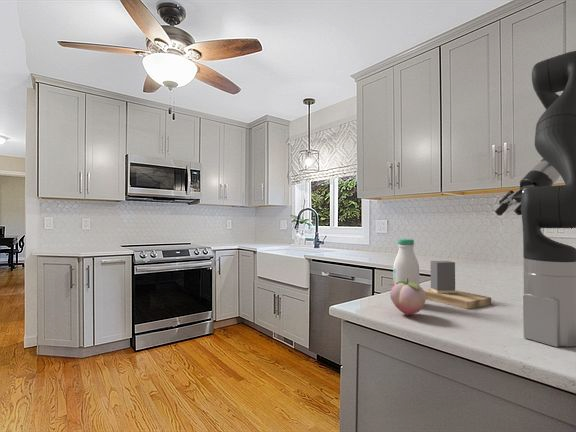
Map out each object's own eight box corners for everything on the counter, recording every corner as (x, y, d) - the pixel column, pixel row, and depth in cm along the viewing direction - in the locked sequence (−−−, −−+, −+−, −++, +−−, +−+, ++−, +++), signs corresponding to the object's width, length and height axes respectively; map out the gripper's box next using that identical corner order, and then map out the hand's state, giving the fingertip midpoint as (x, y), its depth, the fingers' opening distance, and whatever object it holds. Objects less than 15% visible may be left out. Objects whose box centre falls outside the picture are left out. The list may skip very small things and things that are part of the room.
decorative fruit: (433, 317, 86) (433, 279, 86) (412, 322, 82) (411, 282, 82) (405, 309, 94) (405, 274, 94) (384, 312, 90) (384, 277, 90)
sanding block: (447, 290, 110) (447, 260, 111) (455, 292, 106) (455, 262, 106) (430, 290, 110) (430, 260, 110) (437, 293, 106) (437, 262, 106)
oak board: (467, 309, 94) (467, 301, 94) (418, 296, 109) (418, 290, 109) (491, 304, 100) (491, 297, 100) (442, 293, 115) (442, 287, 115)
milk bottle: (424, 304, 99) (424, 239, 99) (409, 308, 95) (409, 240, 95) (403, 299, 105) (403, 238, 106) (387, 302, 101) (387, 239, 101)
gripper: (515, 173, 111) (483, 206, 110) (551, 166, 97) (515, 203, 96) (530, 188, 111) (499, 222, 110) (569, 183, 97) (532, 221, 96)
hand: (506, 213), depth 103 cm, fingers open, 8 cm apart
